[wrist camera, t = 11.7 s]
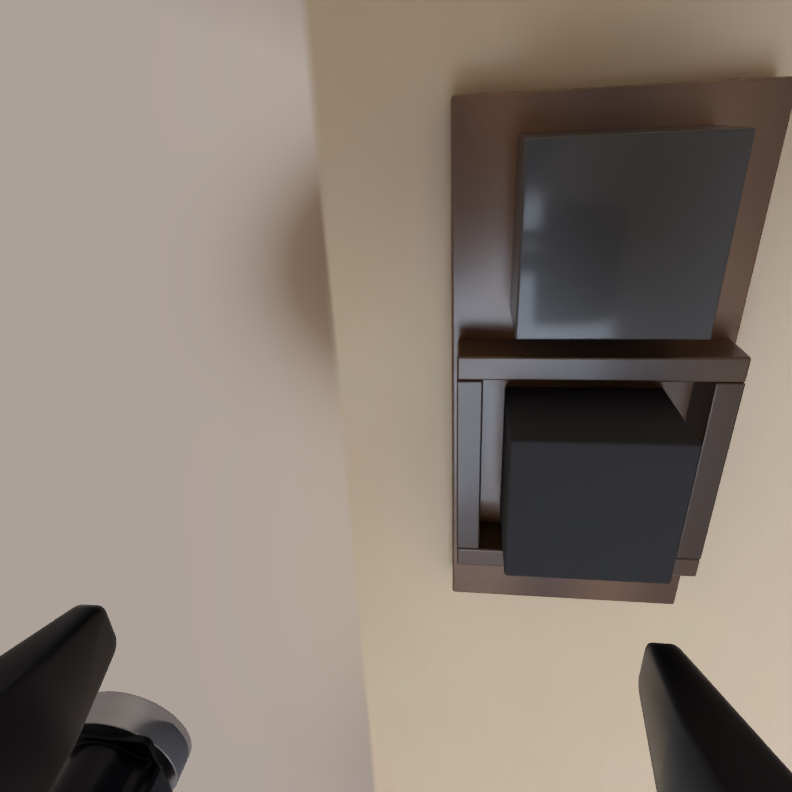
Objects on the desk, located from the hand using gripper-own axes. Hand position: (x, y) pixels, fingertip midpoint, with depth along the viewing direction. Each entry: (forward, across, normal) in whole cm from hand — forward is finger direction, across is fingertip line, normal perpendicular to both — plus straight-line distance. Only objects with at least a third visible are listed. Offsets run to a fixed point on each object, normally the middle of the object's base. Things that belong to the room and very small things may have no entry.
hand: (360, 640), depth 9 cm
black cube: (+11, -5, +3) cm, 12 cm away
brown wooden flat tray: (+12, -5, +1) cm, 13 cm away
